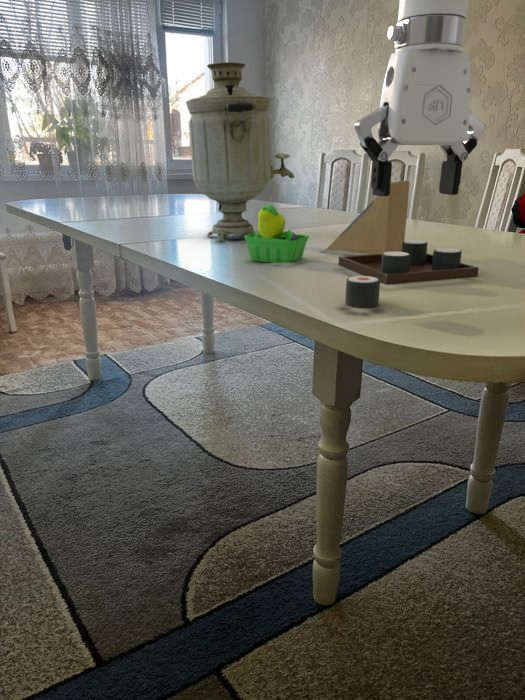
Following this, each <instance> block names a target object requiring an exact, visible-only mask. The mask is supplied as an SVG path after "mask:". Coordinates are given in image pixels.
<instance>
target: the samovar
mask: <svg viewBox="0 0 525 700" xmlns="http://www.w3.org/2000/svg"><path fill="white" fill-rule="evenodd" d="M206 67H207V68H208V69H209V70H210V71H211V77H212V81H213V82H214V84H215V87H214V88H211V89H209V90H208V91H207V92H206V93H205V94H204V95H200V96H199V97H194V98H190V99H189V100H187V101H185V104H186V107H187V110H188V114H190V115H191V116H190V118H189V121H188V132H189V144H190V157H191V169H192V180H193V183H194V185H195V187H196V188H197V190H198V191H199V192H200V193H202V194H203V195H204V196H205V197H207V198H208V199H209V200H212V201H215V202H217V203H218V212H221V214H222V218H221V219H219V220H217V222H216V223H215V224H213V225H212V229H211V231H209V232H208V233H207V235H206V237H207V238H208V237H212V236H213V235H217V236H218V237H217V238H216V242H217V243H224V242H225V240H226V239H227V238H228V237H229V236H230V235H235V236H238V235H248V234H253V233H256V232H255V229H254V226H253V224H252V223H250V221H249V220H248V219H246V218H243V215H242V214H243V213H244V212H247V203H248V202H249V201H250V200H253V199H255V198H256V197H258V196H260V195H261V194H262V192H263V191H264V190H266V188H267V187H268V185H269V184H270V182H271V180H272V179H274V175H280V176H281V178H284V177H286V176H287V177H288V178H289V179H294V178H295V175H294V173H293V172H292V171H291V170H289V169H288V168H287V167H286V166H285V161H284V160H285V159H288V158H290V156H291V155H290V154H288V153H284V152H283V153H280V152H279V153H276V154H274V158H276V159H278V160H280V167H279V168H277V169H274V168H273V165H272V163H271V161H272V159H271V131H270V118H269V117H268V114H267V112H268V109H269V106H270V100H271V98H270V97H268V96H266V95H259V94H256V93H252V92H249V89H247V88H245V87H243V86H240V83H241V81H242V79H243V73H242V70H244V68H245V67H246V64H245V63H242V62H237V61H236V62H235V61H226V62H225V61H224V62H223V61H221V62H212V63H209V64H207V65H206Z"/></svg>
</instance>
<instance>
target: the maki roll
mask: <svg viewBox="0 0 525 700" xmlns="http://www.w3.org/2000/svg"><path fill="white" fill-rule="evenodd" d="M380 290H381V282H380V279H378V278H375V277H370V276H364V275H355V276H350V277H347V278H346V280H345V300H344V301H345V302H344V303H345V305H346V306H347V307H350V308H356V309H372V308H377V307H378V306H379V305H380V304H379V303H380V302H379V301H380Z"/></svg>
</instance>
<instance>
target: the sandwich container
mask: <svg viewBox="0 0 525 700" xmlns="http://www.w3.org/2000/svg"><path fill="white" fill-rule="evenodd" d="M409 194H410V180H398V181H393V182H392V181H391V184H390V194H389V195H388V196H384V197H383V196H377V195H376V196H375V198H374V199H373V200H371V202H370V203H369V204H368V205H367V206H366V207H365V209H363V210H362V211H361V212H360V213H359V214H358V215H357V216H356V217H355V218H354V220H353V221H351V223H350V224H349V225H348V226H347V227H346V228H344V230H343V231H342V232H341V233H340V234H339V235H338V236H337V237H336V238H335V239H334V240H333V241H332V242H331V243H330V244H329V245H328V246H327V247H326V248H325V249H324V250H325V251H331V250H336V251H343V252H353V253H360V254H366V255H371V254H383V253H385V252H402V242H403V241H406V239H405V238H406V228H407V218H408V217H407V216H408V207H409V206H408V205H409Z"/></svg>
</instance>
